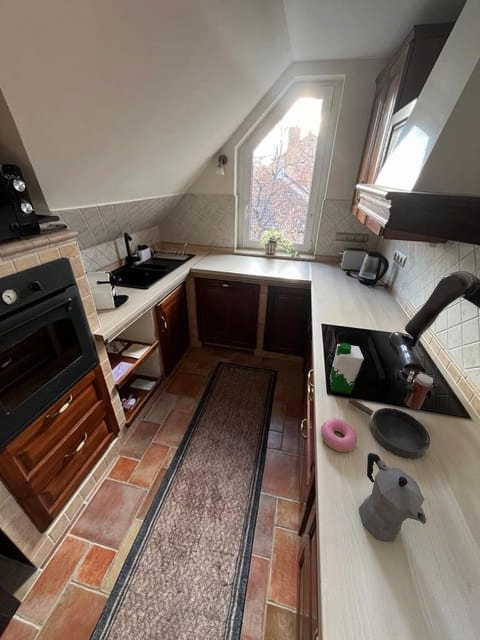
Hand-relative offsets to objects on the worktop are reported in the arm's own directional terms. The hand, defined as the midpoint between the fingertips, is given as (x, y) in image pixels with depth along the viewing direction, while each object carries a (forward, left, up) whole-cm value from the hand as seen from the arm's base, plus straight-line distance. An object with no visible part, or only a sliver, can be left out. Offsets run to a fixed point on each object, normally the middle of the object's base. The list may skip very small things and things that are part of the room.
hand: (421, 394), depth 85 cm
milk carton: (+21, -13, -10) cm, 27 cm away
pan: (+9, +8, -10) cm, 16 cm away
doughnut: (+29, +10, -10) cm, 33 cm away
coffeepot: (+26, +31, -10) cm, 42 cm away
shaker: (-1, -2, -7) cm, 7 cm away
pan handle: (+18, -1, -8) cm, 20 cm away
